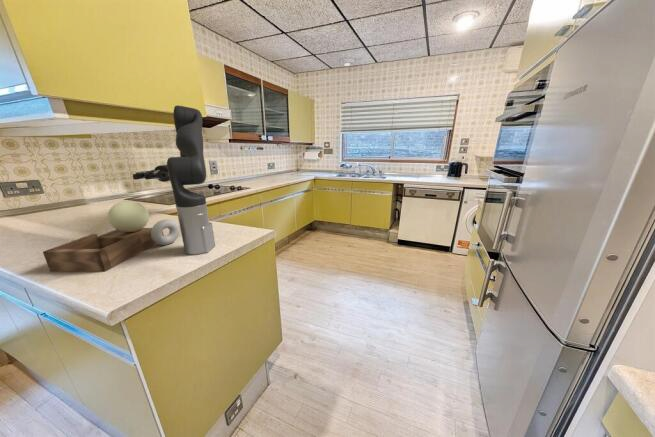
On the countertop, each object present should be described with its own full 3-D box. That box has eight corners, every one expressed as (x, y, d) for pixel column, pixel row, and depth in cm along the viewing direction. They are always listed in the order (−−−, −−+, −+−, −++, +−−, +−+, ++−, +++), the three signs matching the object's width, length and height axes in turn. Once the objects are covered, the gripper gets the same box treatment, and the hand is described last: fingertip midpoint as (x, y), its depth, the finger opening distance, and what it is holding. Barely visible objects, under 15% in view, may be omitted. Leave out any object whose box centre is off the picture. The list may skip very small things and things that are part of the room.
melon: (159, 226, 95) (153, 197, 91) (136, 236, 83) (127, 204, 80) (130, 226, 95) (123, 197, 91) (103, 236, 83) (93, 204, 80)
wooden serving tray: (164, 239, 94) (161, 224, 92) (105, 271, 69) (99, 251, 67) (123, 239, 94) (119, 224, 92) (50, 271, 69) (42, 251, 67)
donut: (157, 249, 84) (151, 224, 81) (152, 248, 86) (145, 222, 83) (183, 240, 93) (179, 217, 90) (178, 239, 94) (173, 216, 91)
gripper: (151, 164, 107) (119, 167, 91) (181, 164, 107) (155, 167, 91) (155, 180, 109) (124, 186, 93) (184, 180, 109) (159, 186, 93)
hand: (139, 176), depth 92 cm, fingers open, 4 cm apart
